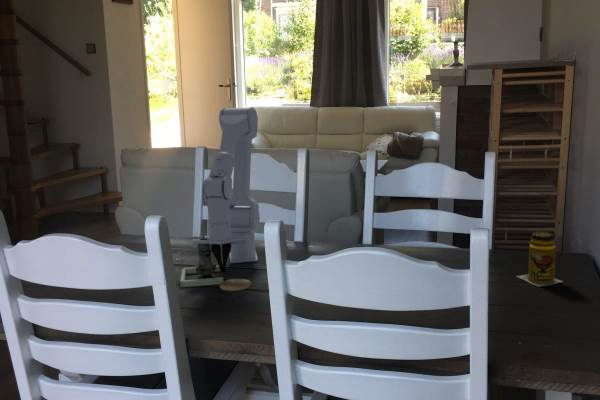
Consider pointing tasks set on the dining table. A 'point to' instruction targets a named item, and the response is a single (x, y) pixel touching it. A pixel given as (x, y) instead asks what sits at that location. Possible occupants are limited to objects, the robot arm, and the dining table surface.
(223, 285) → the cork coaster
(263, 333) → the dining table surface
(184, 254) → the dining table surface
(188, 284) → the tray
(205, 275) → the salt shaker
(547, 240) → the condiment
